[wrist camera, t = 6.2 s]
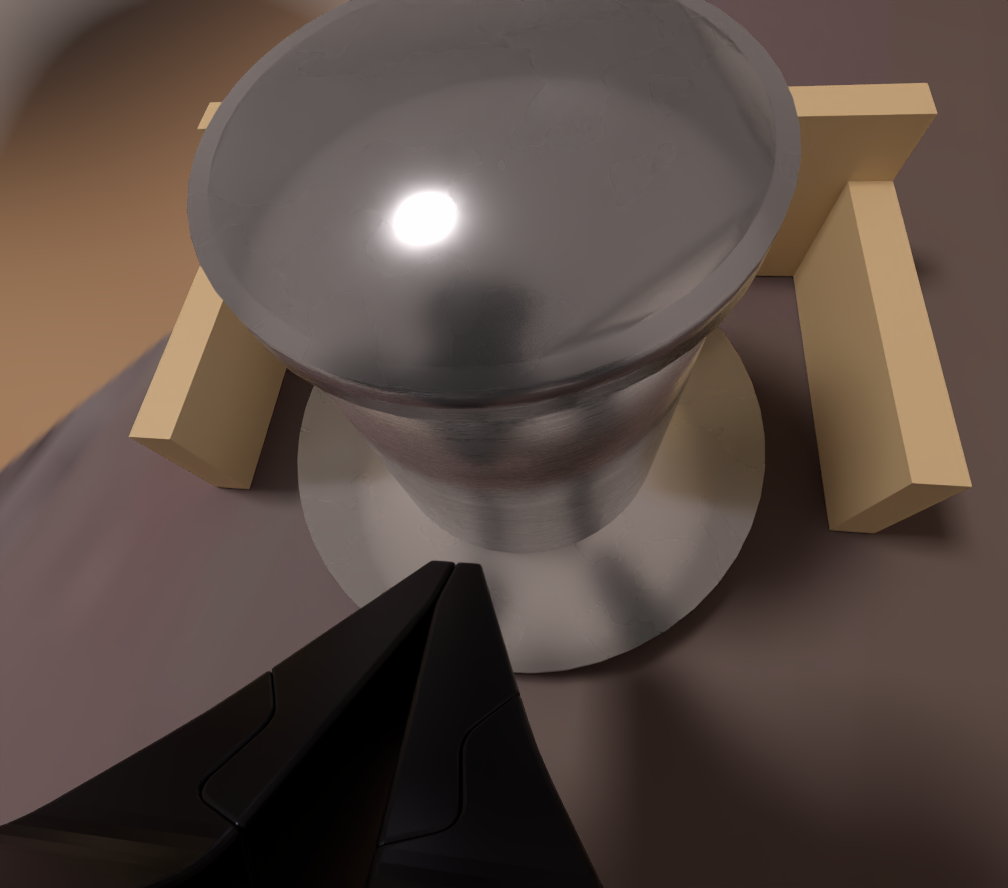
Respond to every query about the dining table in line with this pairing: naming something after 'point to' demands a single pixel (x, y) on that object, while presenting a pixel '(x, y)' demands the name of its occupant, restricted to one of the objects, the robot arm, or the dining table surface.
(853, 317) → the tan wooden u-frame
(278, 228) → the door knob
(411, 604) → the robot arm
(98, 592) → the dining table surface
